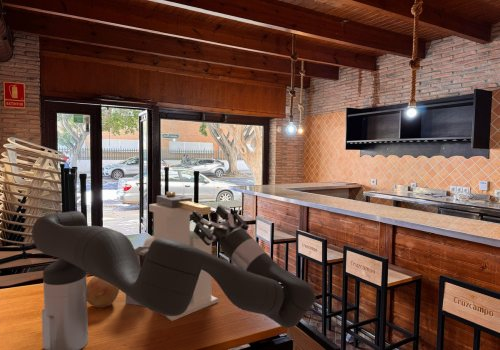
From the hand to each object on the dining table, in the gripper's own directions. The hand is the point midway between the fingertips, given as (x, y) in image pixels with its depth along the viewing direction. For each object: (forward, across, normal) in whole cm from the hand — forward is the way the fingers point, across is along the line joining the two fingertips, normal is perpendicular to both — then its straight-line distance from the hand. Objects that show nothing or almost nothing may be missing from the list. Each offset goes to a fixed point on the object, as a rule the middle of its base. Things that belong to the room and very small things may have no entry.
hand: (205, 210), depth 91 cm
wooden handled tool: (+8, 0, -5) cm, 9 cm away
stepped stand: (-3, +3, -36) cm, 36 cm away
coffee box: (+8, -4, -42) cm, 43 cm away
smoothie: (+16, +6, -47) cm, 50 cm away
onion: (+12, -15, -44) cm, 48 cm away
